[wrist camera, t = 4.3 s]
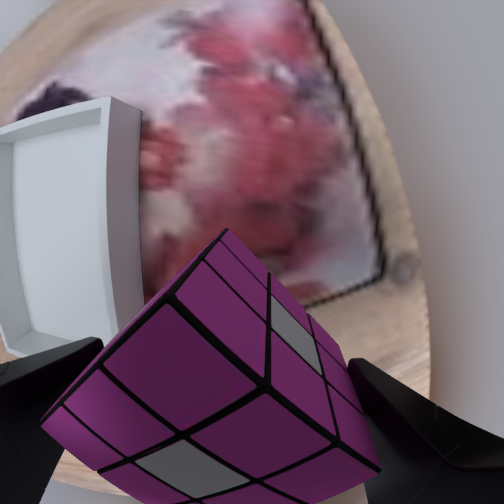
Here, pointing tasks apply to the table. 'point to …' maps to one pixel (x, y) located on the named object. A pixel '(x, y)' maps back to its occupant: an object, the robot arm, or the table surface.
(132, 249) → the tote
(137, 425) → the puzzle toy
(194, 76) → the table surface
